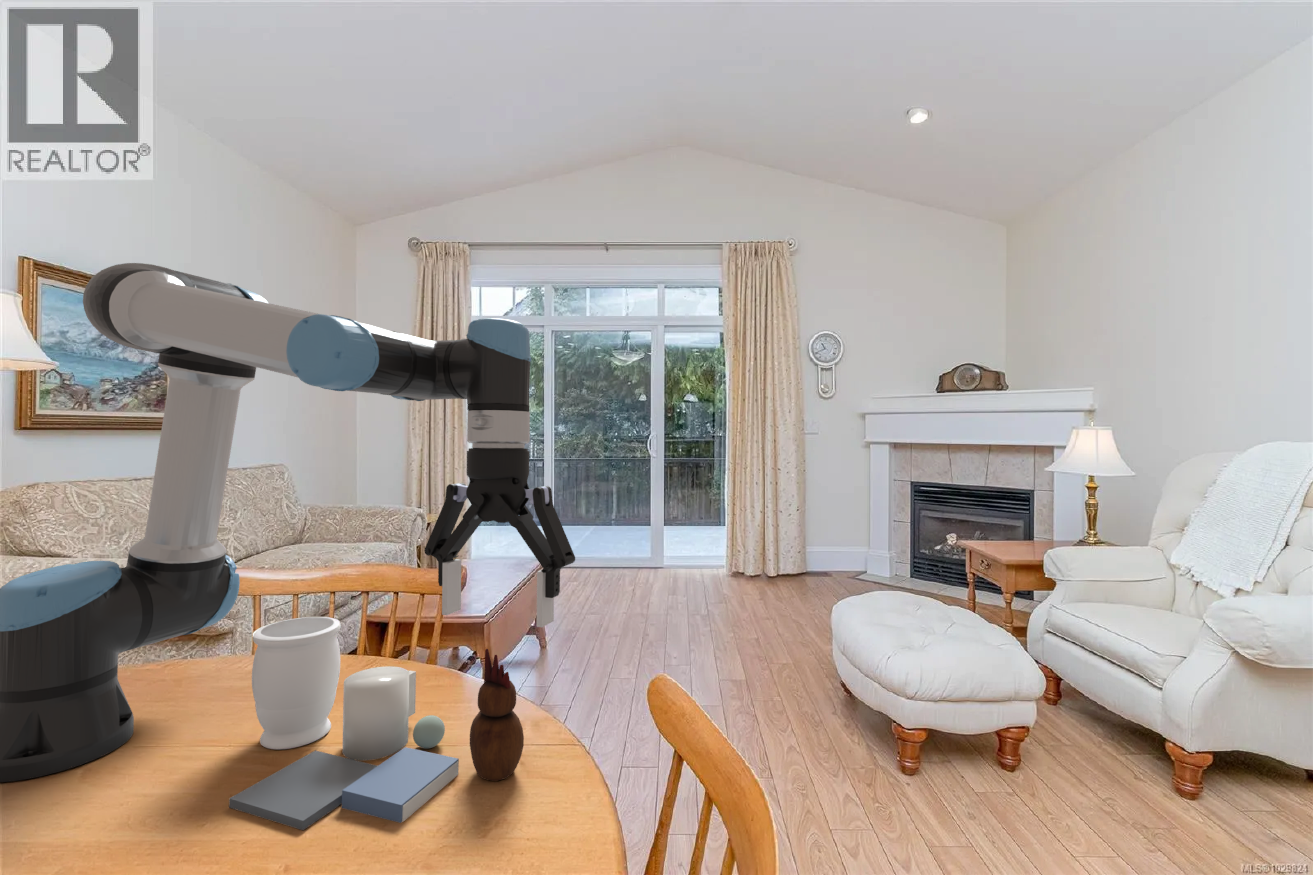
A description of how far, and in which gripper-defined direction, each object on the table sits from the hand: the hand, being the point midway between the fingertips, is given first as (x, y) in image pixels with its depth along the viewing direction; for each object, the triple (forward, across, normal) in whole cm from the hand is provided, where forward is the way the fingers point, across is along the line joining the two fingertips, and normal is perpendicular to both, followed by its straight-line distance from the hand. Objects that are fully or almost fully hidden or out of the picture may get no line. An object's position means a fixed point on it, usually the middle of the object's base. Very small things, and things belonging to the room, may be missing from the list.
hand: (496, 618), depth 74 cm
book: (+20, -8, -7) cm, 22 cm away
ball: (+19, -12, +2) cm, 23 cm away
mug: (+19, -19, +2) cm, 27 cm away
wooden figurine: (+19, 0, 0) cm, 19 cm away
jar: (+19, -31, -2) cm, 37 cm away
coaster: (+19, -18, -11) cm, 28 cm away
